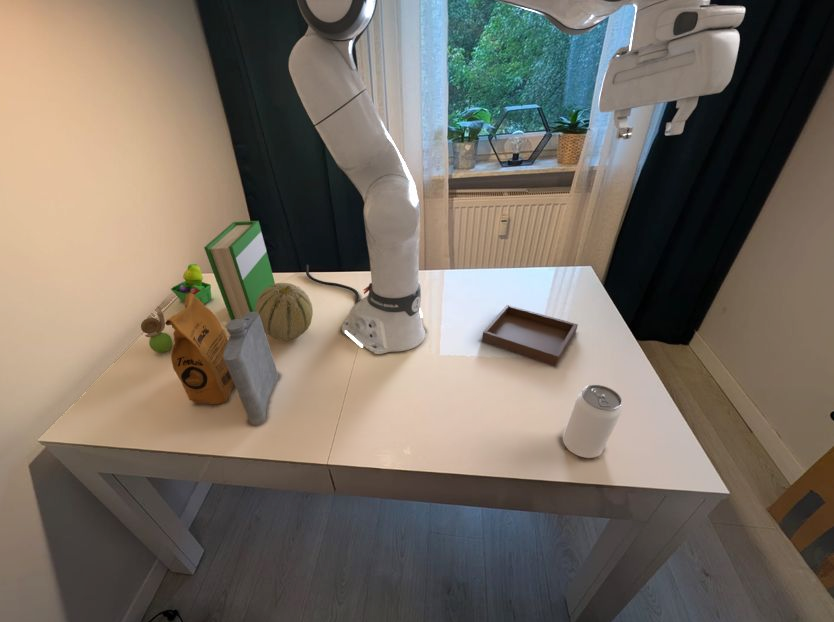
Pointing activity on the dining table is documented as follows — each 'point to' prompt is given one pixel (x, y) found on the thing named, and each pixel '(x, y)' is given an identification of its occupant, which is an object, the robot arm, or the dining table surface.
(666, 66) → the robot arm
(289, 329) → the cantaloupe
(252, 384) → the hip flask
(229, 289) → the hardback book
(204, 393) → the coffee package
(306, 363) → the dining table surface
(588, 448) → the can
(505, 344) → the tray
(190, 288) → the fruit basket
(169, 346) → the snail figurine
